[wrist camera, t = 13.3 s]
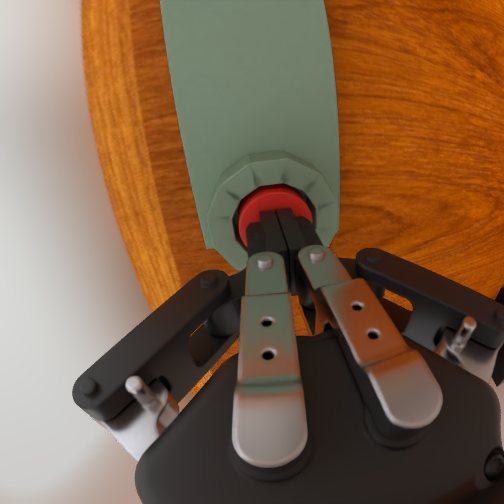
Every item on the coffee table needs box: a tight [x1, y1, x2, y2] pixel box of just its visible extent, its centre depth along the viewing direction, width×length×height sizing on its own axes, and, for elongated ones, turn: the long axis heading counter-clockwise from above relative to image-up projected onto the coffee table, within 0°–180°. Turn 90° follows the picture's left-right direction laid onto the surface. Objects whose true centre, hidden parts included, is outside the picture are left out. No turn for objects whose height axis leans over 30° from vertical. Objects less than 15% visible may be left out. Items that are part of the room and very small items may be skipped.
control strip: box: [160, 0, 340, 271], centre depth 11 cm, size 19×8×2 cm, turn 7°
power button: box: [238, 183, 313, 247], centre depth 14 cm, size 4×4×2 cm
